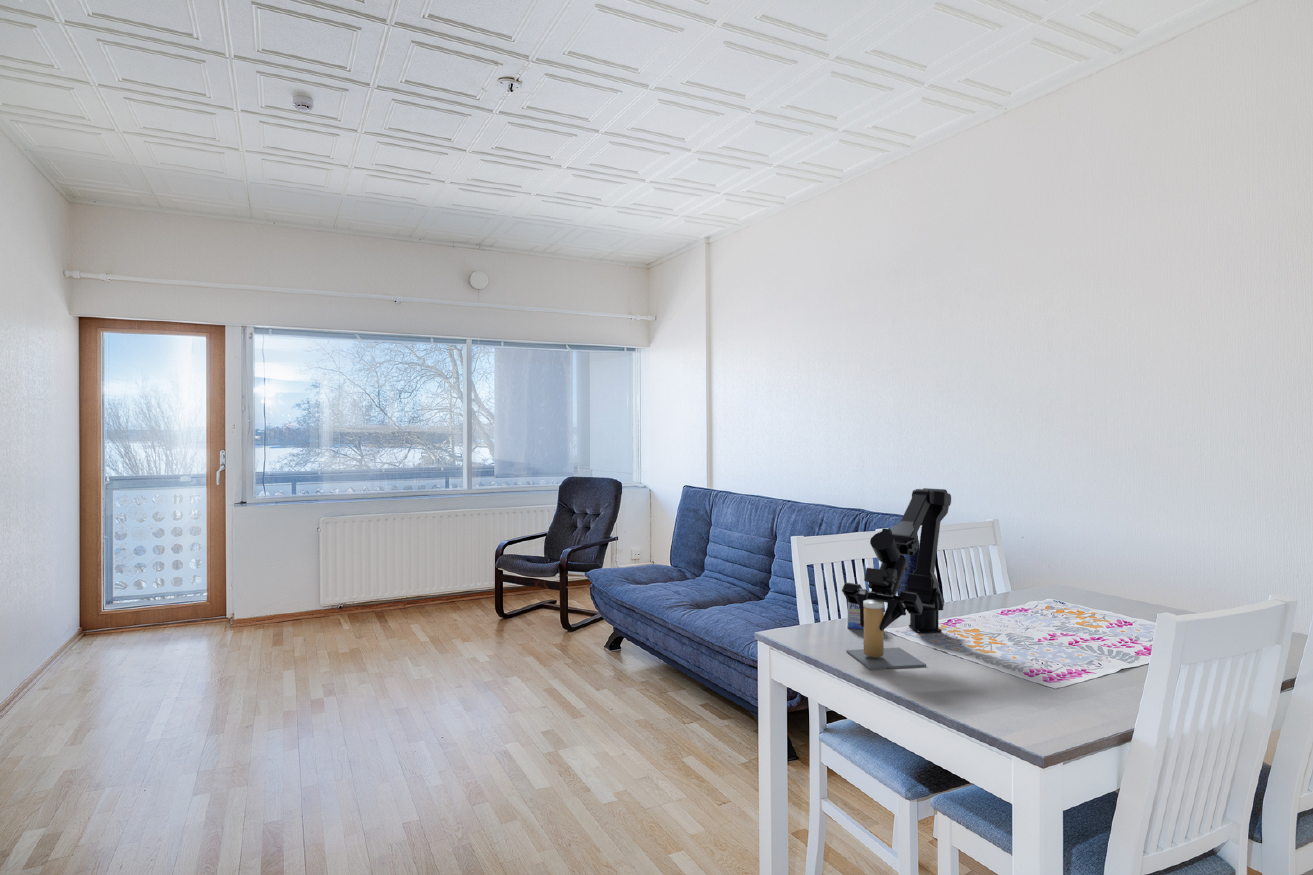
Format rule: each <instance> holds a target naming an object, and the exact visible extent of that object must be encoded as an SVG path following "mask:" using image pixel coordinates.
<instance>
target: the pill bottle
mask: <svg viewBox="0 0 1313 875" xmlns="http://www.w3.org/2000/svg"><path fill="white" fill-rule="evenodd" d="M863 606H864V630H863V649H864V654H865V655H867V656H871V657H881V656H883V655H884V648H885V647H884V643H885V642H884V636H885V635H884V634H885V633H884V630H885V629H884V630H883V631H881V630H880V625H881V621H882V619H883V617H884V614H885V612H884V611H885V602H882V601H879V600H865V601H863Z"/></svg>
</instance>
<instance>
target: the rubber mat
mask: <svg viewBox="0 0 1313 875" xmlns="http://www.w3.org/2000/svg"><path fill="white" fill-rule="evenodd" d="M845 652H846V654H848V655H849V656H851V657H852V658H853V659H855V660H856V661H857V662H858V663H860V664H862V665H863V666H864V667H865V668H866V669H868V670H870V671H872V670H873V671H874V670H888V669H887V668H892V669H903V668H904V669H906V668H909V669H910V668H923V667H927V663H924V661H922V660H920V659H919V658H917V657H916V656H914V655H912V654H910V652H908V651H906V650H904V649H902V648H901V647H898V646H897V647H884V655H883V656H881V657H871V656H867V655H865V654H864V648H861V649H847V650H846V651H845Z"/></svg>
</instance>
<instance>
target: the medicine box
mask: <svg viewBox="0 0 1313 875" xmlns="http://www.w3.org/2000/svg"><path fill="white" fill-rule="evenodd" d="M847 629H848V630H849V629H850V630H851V629H852V630H863V631H864V627H861V625H860V606H859V605H857V604H852V603H849V602H848V601H847Z"/></svg>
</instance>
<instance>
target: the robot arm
mask: <svg viewBox="0 0 1313 875" xmlns="http://www.w3.org/2000/svg"><path fill="white" fill-rule="evenodd" d="M951 504H952V495H951V493H949V492H948V491H947V489H944V488H943V489H942V488H929V487H928V488H926V487H924V488H916V489H913V490H912V492H911V498H910V501H909V503H908V505H907V508H906V509H905V511H904V513H903V516H902V518H901V520H900V522H898V524H895V525H894V526H892V527H891V528H884V527H883V528H882V530H881V531H879V532H877V533H875V534H874V535H873V536H872V537H871V538H870V543H869V544H870V546H871V548H872V550H873V552H874V554H875V556H876V558H877V560H878V561H879V562H881V563H880V566H879V568H873V567H866V569H865V574H864V579H863V581H865V582H867V583H868V585H867V587H868V588H869V589H871V591H870V590H867V589H865V588H862V585H861V584H860V583H853V582H845V583H844V584H843V586H842V589H841V592H842V593H843V595H844V597H845V599H846V601H847V603H848V602H849V603H852V604H857V605H859V606H860V625H861V627H864V606H863V601H865V600H879V601H882V602H884V603H885V604H887V605H886V608H885V612H884V617H883V619H882V621H881V625H880V630H881V631H883V630H885V629H886V628H887V627H888V626H890V625H891V624H892V623H893V622H895V621H896V620H898V619H899V618H900V617H901V616H906V615H907V613H908V614H909V619H910V620H909V624H908V627H909V628H911V629H912V630H914V631H916V632H918V633H920V634H924V633H942V631H943V630H942V629H941V628H939V612H940V611H944V606H945V599H944V597H943V595H942V592H941V590H940V582H939V580H938V578H937V576H936V573H935V569H936V560H937V553H938V552H937V551H938V544H939V543H938V542H939V536H940V529H941V522H942V520H943V519H944V518H945V517H946V516H947V514H948V513H949V508H950V506H951ZM920 528H921V529H920ZM919 529H920V536H919V538H918V532H919ZM917 551H918V553H917V560H916V567H915V568H916V569H915V570H914V571H913V572H912V573H909V574H908V577H907V584H906V585H905V588H904V589H905V590H902V591H900V593H899V595H897V593H898V590H901V589H902V586H903V585H902V583H901V582H902V579H903V577H904V573H905V571H908V570H909V569H908V567H909V566H908V561H907V559H906V557H905V556H908V557H912V556H914V555H915V554H916V552H917Z"/></svg>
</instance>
